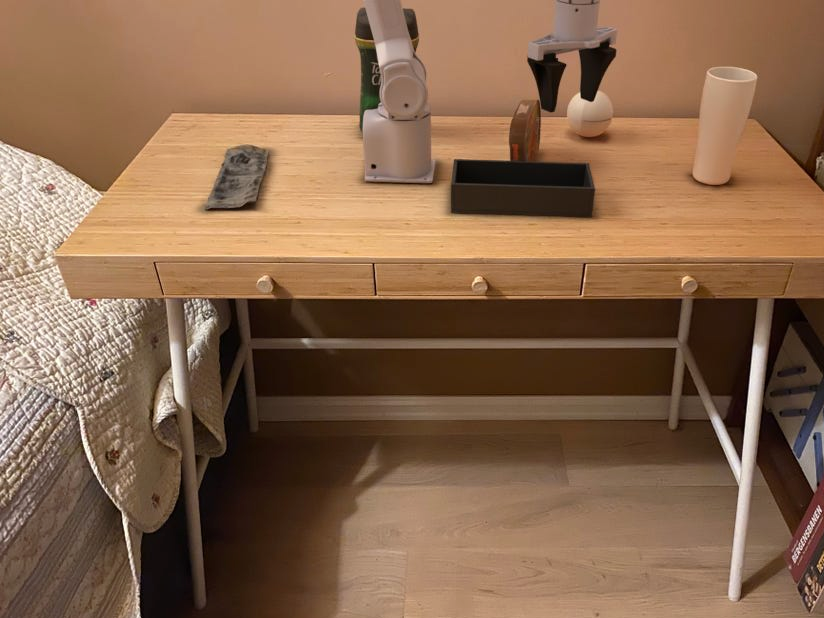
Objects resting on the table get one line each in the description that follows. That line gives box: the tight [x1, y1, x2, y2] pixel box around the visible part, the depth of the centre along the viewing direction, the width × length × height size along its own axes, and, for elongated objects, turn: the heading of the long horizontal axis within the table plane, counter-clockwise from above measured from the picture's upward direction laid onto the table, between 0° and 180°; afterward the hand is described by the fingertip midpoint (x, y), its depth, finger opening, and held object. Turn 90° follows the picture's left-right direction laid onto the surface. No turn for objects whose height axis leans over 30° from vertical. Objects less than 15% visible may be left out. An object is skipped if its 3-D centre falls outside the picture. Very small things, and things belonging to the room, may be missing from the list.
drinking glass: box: [691, 66, 758, 186], centre depth 110 cm, size 7×7×15 cm
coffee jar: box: [354, 7, 420, 134], centre depth 121 cm, size 10×8×19 cm
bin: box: [450, 158, 596, 218], centre depth 106 cm, size 18×8×4 cm, turn 89°
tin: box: [508, 98, 542, 161], centre depth 115 cm, size 15×3×8 cm, turn 168°
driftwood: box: [204, 144, 270, 211], centre depth 110 cm, size 21×7×2 cm, turn 6°
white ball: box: [566, 89, 626, 138], centre depth 126 cm, size 10×7×7 cm
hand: (567, 104), depth 110 cm, fingers open, 7 cm apart
